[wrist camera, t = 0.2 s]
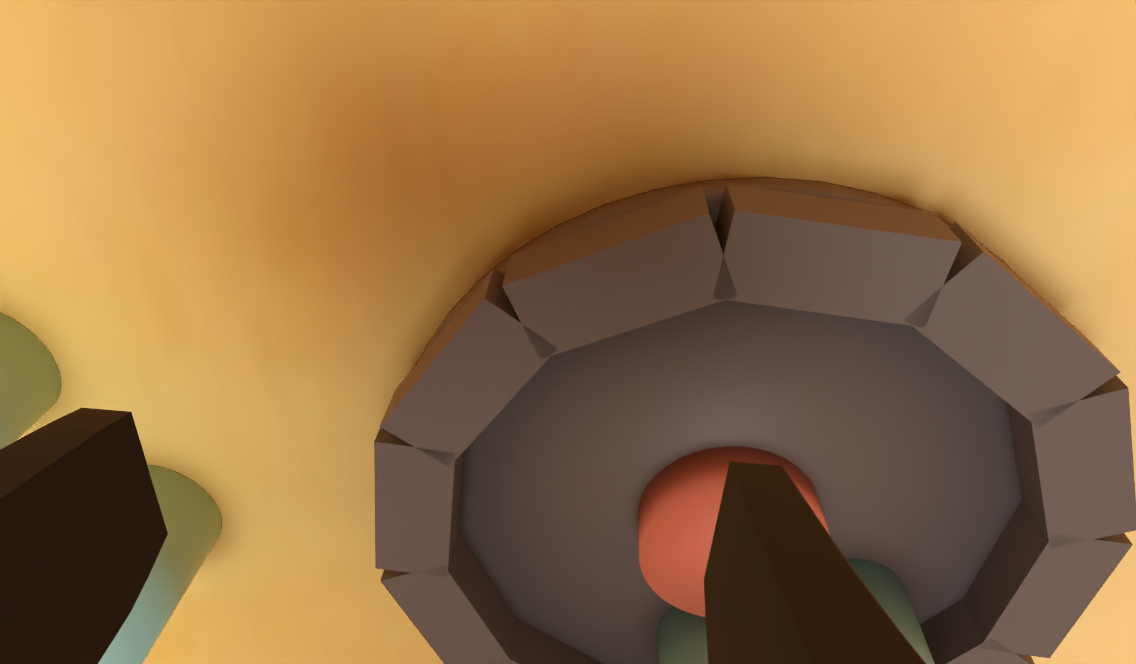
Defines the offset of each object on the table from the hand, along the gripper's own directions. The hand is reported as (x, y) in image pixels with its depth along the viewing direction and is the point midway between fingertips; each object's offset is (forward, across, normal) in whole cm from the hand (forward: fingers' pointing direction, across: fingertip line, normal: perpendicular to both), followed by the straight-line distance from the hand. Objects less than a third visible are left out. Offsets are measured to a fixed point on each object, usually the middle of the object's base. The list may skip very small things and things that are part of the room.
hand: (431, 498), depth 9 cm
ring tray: (+10, -6, +8) cm, 14 cm away
